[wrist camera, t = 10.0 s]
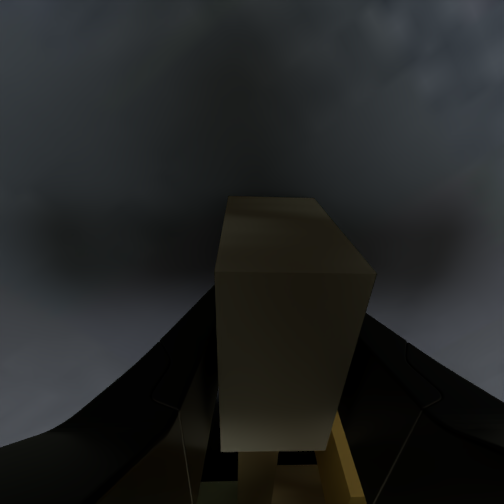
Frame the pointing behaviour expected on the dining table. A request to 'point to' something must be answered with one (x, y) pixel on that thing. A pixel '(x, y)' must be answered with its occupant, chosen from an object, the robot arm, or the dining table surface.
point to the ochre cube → (339, 469)
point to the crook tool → (284, 338)
